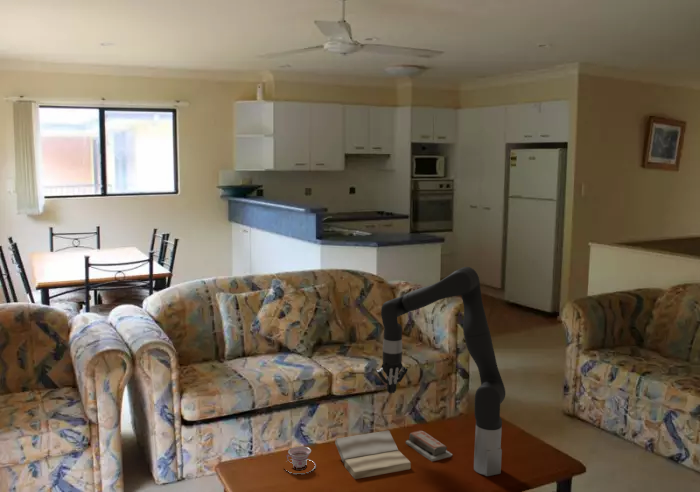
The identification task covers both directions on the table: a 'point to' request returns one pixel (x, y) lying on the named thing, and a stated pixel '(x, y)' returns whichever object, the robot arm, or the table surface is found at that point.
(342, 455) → the whitewashed plank
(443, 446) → the packaged product
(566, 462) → the table surface
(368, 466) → the oak plank
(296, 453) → the teacup
